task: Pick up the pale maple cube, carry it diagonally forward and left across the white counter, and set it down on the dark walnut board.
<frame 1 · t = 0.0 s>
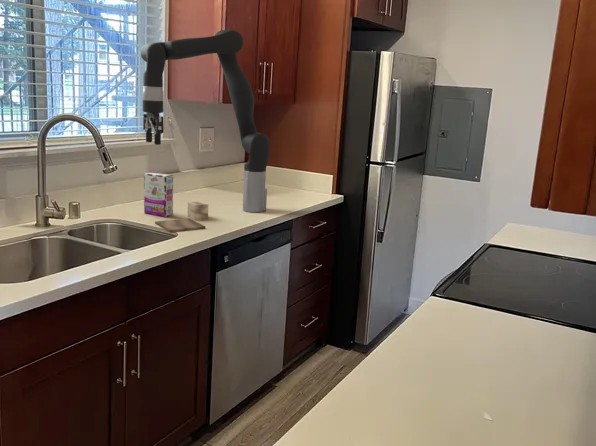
hand: (153, 143, 221), 29 cm above the countertop, fingers open, 8 cm apart
maple cube: (197, 218, 234), on the countertop
candy bar box: (158, 214, 236), on the countertop
walnut board: (180, 226, 219), on the countertop
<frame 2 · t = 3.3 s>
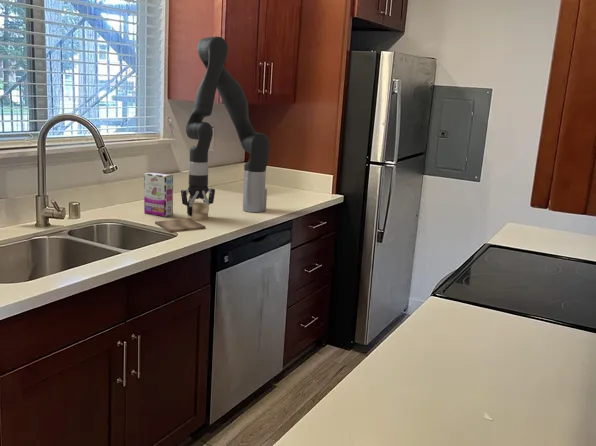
hand: (197, 214, 234), 1 cm above the countertop, fingers closed on maple cube, 6 cm apart
maple cube: (197, 217, 234), on the countertop, touching gripper
everything else where it was.
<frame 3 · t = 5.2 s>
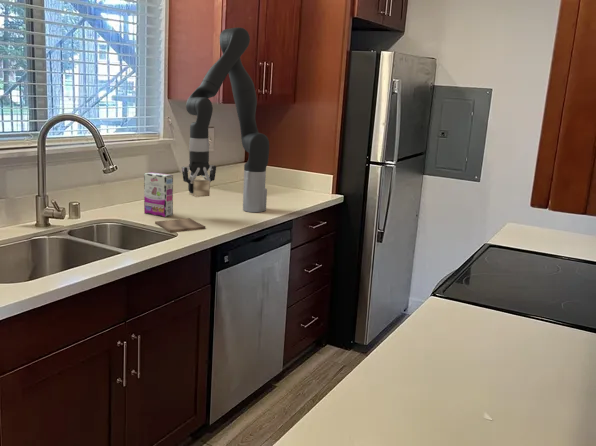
hand: (199, 192, 232), 10 cm above the countertop, fingers closed on maple cube, 6 cm apart
maple cube: (199, 195, 232), point 9 cm above the countertop, touching gripper
everything else where it was.
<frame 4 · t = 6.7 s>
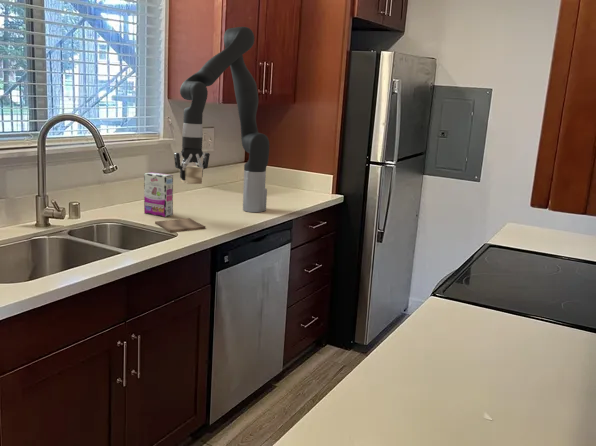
hand: (191, 179, 225), 16 cm above the countertop, fingers closed on maple cube, 6 cm apart
maple cube: (191, 182, 226), point 15 cm above the countertop, touching gripper
everything else where it was.
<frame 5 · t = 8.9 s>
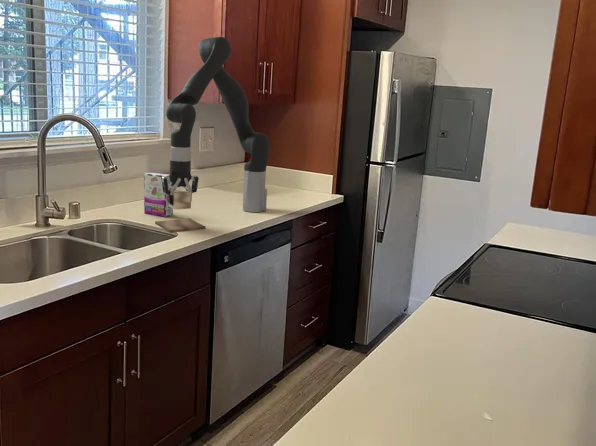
hand: (179, 204, 217), 8 cm above the countertop, fingers closed on maple cube, 6 cm apart
maple cube: (179, 207, 218), point 7 cm above the countertop, touching gripper
everything else where it was.
when the fingers open (3 cm above the countertop, at t = 10.4 s): maple cube drops 1 cm, resting on walnut board.
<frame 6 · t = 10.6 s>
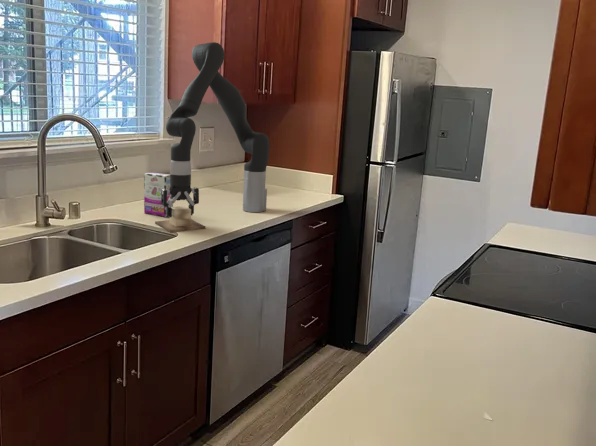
hand: (180, 216, 218), 4 cm above the countertop, fingers open, 8 cm apart
maple cube: (180, 223, 219), point 1 cm above the countertop, touching walnut board
everything else where it was.
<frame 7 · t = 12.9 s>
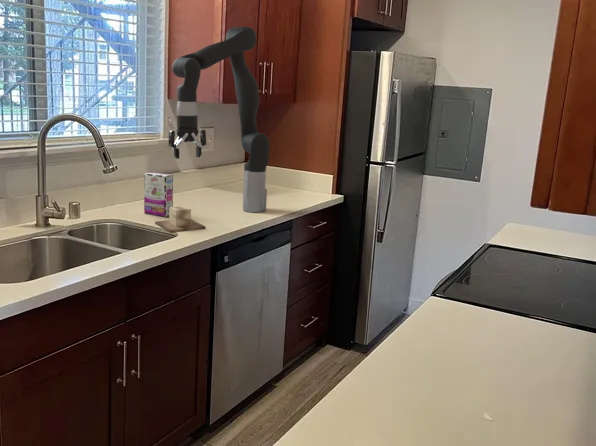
hand: (187, 157, 220), 25 cm above the countertop, fingers open, 8 cm apart
nothing on the countertop moved.
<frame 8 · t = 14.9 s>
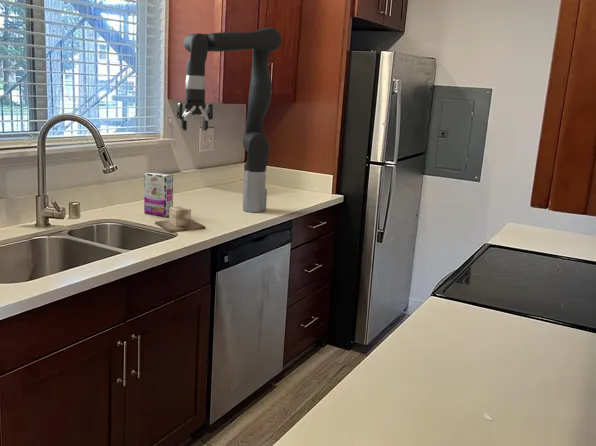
hand: (194, 130, 229), 34 cm above the countertop, fingers open, 8 cm apart
nothing on the countertop moved.
at the end: maple cube inside the target area on the walnut board (0.0 cm from its centre), point 0.8 cm above the walnut board's base; maple cube tilted 0°; the gripper is holding nothing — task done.
